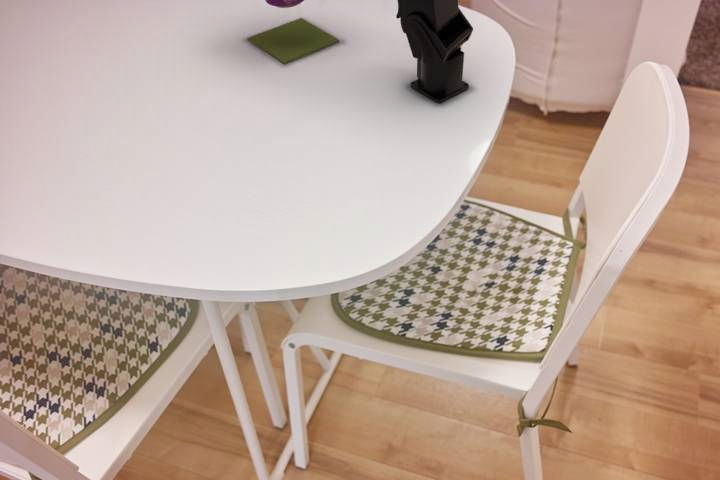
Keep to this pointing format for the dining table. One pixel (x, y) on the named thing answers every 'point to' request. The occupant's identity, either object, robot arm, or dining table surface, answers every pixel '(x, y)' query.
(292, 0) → the beverage can
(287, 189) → the dining table surface
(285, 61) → the mat
